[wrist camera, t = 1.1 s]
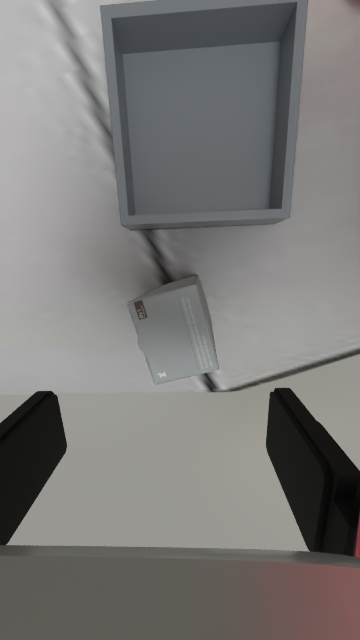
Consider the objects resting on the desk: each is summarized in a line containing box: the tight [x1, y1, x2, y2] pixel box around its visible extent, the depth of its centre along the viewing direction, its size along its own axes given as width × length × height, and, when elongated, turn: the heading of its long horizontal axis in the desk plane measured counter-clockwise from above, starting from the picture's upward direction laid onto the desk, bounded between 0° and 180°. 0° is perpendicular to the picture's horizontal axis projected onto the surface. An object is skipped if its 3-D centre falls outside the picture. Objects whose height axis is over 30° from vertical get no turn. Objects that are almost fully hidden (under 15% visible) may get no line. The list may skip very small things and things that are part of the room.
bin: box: [100, 0, 308, 230], centre depth 26 cm, size 20×20×5 cm
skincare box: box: [127, 275, 219, 384], centre depth 27 cm, size 8×7×16 cm
